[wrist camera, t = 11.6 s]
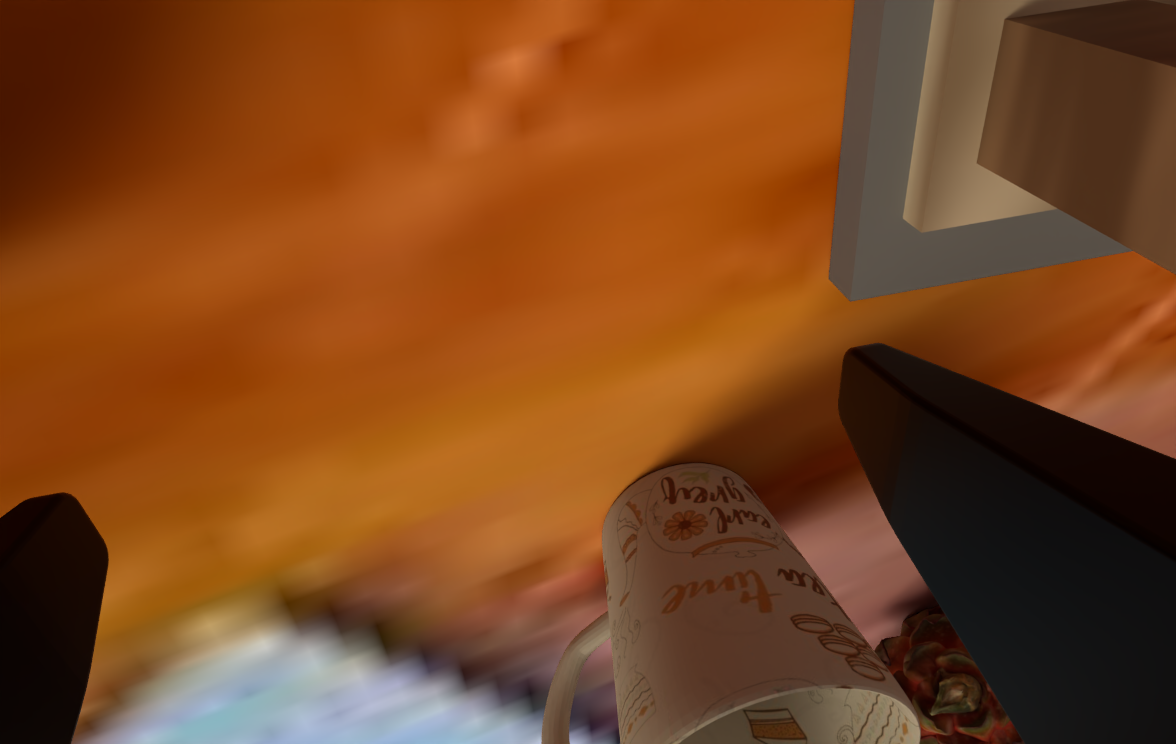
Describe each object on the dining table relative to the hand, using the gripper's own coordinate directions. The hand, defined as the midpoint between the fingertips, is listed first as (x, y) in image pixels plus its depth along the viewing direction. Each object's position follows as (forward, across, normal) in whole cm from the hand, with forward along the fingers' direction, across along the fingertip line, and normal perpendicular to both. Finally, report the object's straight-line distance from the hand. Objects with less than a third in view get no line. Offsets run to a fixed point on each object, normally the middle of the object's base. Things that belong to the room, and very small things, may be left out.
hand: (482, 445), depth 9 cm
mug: (+13, -4, +17) cm, 22 cm away
